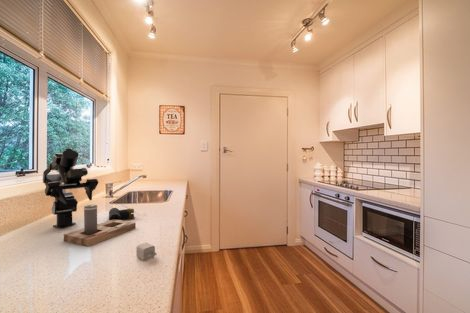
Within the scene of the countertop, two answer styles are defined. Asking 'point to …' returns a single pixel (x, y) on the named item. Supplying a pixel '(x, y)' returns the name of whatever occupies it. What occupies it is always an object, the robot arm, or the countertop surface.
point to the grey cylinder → (90, 219)
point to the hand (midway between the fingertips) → (79, 201)
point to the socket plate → (100, 232)
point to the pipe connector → (121, 214)
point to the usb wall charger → (145, 251)
